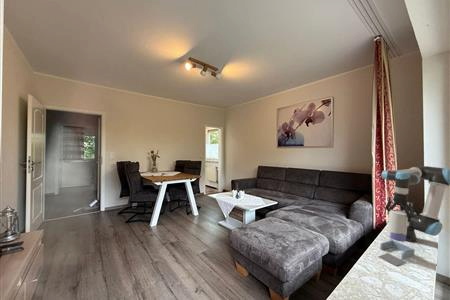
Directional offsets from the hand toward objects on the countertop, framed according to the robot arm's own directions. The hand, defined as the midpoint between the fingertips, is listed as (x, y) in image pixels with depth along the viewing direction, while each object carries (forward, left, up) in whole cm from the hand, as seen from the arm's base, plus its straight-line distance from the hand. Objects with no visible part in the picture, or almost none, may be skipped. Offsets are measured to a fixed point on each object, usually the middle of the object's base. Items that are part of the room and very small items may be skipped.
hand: (398, 222), depth 145 cm
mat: (+10, +3, -24) cm, 26 cm away
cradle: (-4, -1, -24) cm, 24 cm away
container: (0, 0, -12) cm, 12 cm away
